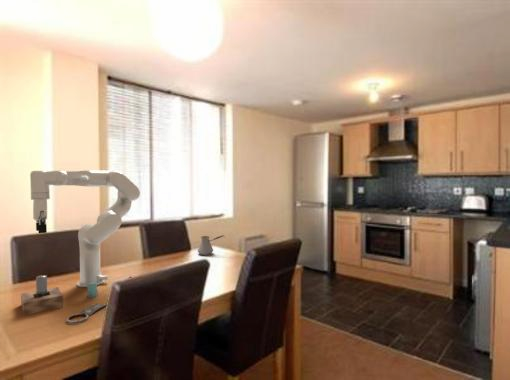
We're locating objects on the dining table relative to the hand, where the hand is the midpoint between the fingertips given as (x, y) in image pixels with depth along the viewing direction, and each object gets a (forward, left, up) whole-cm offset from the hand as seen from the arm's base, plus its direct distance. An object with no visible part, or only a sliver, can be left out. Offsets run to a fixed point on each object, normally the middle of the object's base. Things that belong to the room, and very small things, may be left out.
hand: (41, 231), depth 158 cm
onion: (-42, +6, -31) cm, 52 cm away
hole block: (-7, +17, -30) cm, 35 cm away
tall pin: (-7, +17, -30) cm, 35 cm away
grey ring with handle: (-30, +30, -31) cm, 52 cm away
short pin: (-25, +8, -30) cm, 40 cm away
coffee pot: (-84, -67, -31) cm, 112 cm away
